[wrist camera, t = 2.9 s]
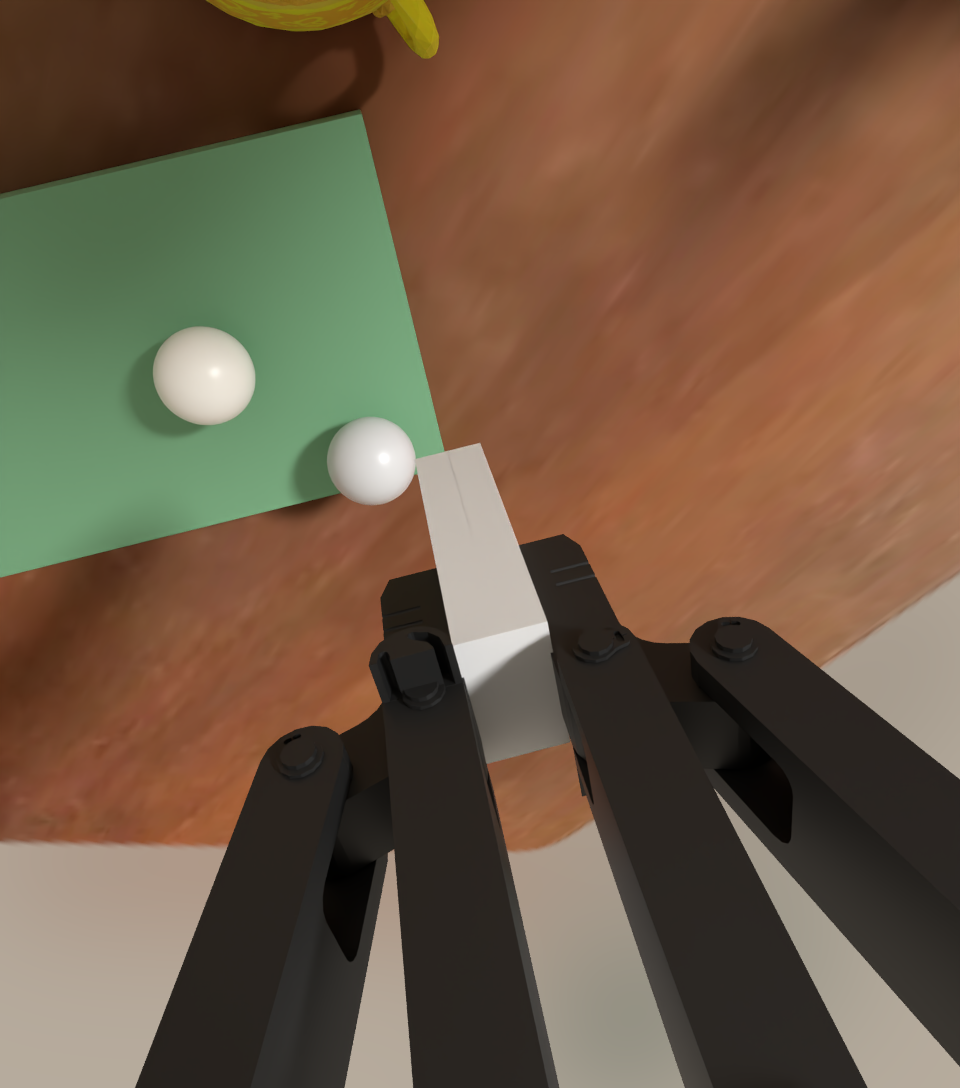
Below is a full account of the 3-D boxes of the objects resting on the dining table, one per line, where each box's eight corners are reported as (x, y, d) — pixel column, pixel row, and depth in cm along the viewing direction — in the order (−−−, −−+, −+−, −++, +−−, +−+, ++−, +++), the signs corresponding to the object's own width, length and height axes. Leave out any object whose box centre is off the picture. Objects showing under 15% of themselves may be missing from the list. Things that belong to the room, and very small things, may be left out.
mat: (-393, 286, 28) (-504, 322, 24) (359, 109, 29) (363, 117, 25) (-148, 588, 36) (-205, 651, 32) (441, 442, 37) (453, 487, 33)
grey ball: (316, 414, 32) (314, 452, 29) (400, 394, 32) (407, 429, 29) (341, 488, 34) (341, 530, 31) (420, 469, 34) (428, 509, 31)
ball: (147, 326, 29) (125, 357, 26) (240, 304, 30) (229, 332, 27) (184, 413, 31) (169, 451, 28) (272, 391, 32) (265, 427, 29)
